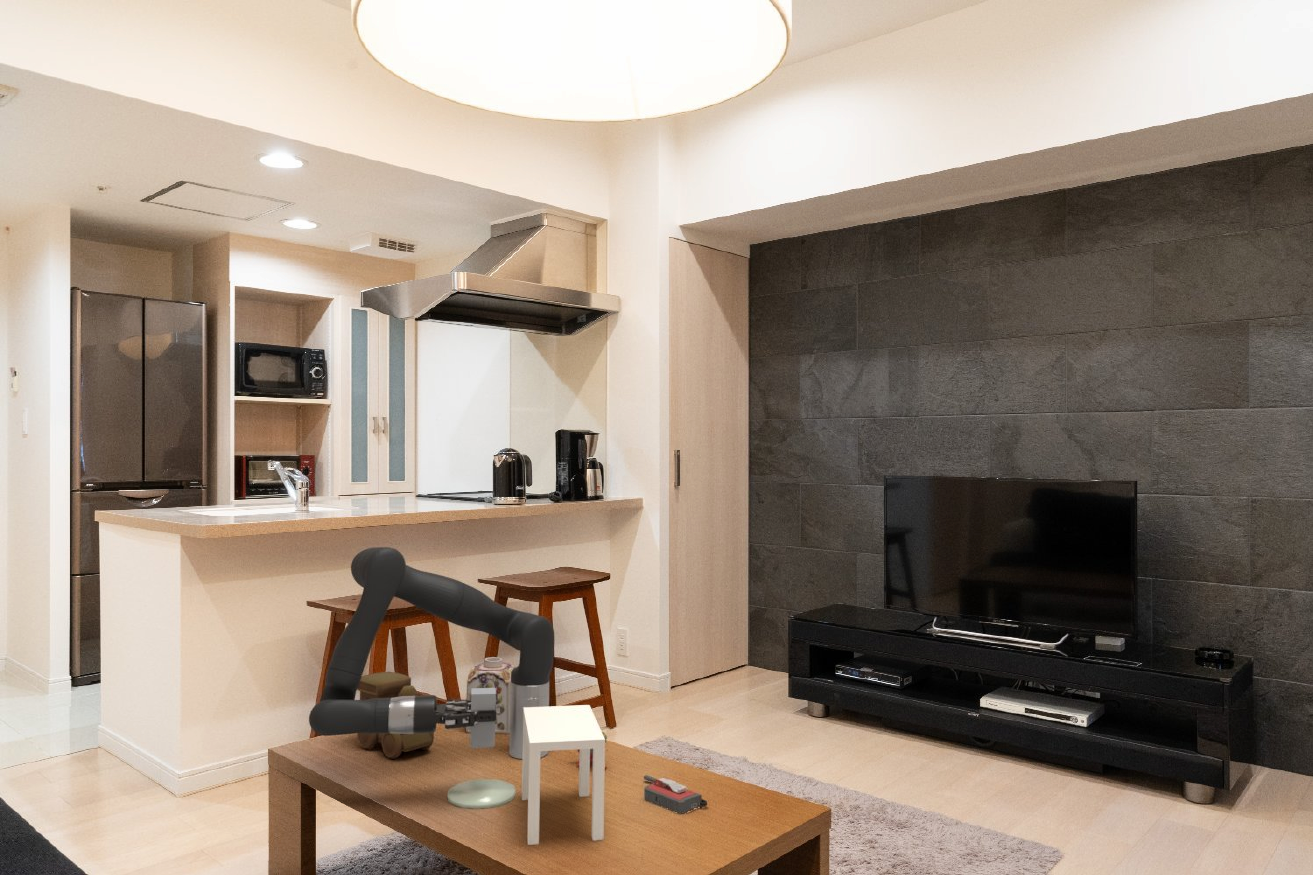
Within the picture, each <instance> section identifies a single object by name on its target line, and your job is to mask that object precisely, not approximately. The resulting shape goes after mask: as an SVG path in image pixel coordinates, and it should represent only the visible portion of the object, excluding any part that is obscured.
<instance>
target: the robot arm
mask: <svg viewBox="0 0 1313 875" xmlns="http://www.w3.org/2000/svg"><path fill="white" fill-rule="evenodd" d="M350 571H351V575H352V576H351V577H352V578H353V580H354V581H355V583H357V584H358V585H359V586H360V587H362V588H363V589H362V593H361V597H360V601H359V603H358V605H357V608H356V610H355V612H354V613H353V616H352V617H351V619H350V620H349V622H348V624H347V625H346V627H345V628H344V630H343V632H342V633H341V635H340V636H339V638H338V640H337V642H336V644H335V646H334V650H333V652H332V656H331V659H330V661H329V664H328V667H327V670H326V673H325V677H324V678H325V685H324V687H323V691H322V693H321V697H320V700H319V702H317V703H316V704H315V705H314V706H313V707H312V709H311V710H310V711H309V712H310V713H309V715H308V724H309V726H310V728H311V729H312V731H313V732H315V734H317V735H320V736H324V737H326V736H327V737H328V736H340V735H341V736H342V735H352V734H357V733H367V734H383V733H395V734H417V733H434V734H435V732H436V731H437V724H440V725H444V729H446V730H450V729H458V728H459V729H460V728H466V727H470V726H471V727H472V726H474V724H476V723H478V722H494V721H496V708H495V710H479V711H477V710H471V700H466V699H458V698H456V699H454V698H449V699H447V702H445V703H440V704H438V696H436V695H435V694H433V695H432V694H431V695H426V694H425V695H417V696H401V697H395V698H373V699H366V700H360V699H356V695H357V692H358V690H357V687H358V685H359V682H360V680H361V677H362V676H363V673H364V671H365V669H366V668H365V667H366V664H367V661H368V659H369V656H370V652H371V649H372V646H373V644H374V642H375V639H376V636H377V634H378V631H379V629H380V626H381V625H382V622H383V620H384V618H385V615H386V613H387V611H388V610H389V607H390V606H391V605H390V604H391V603H392V601H393V599H394V598H397V599H400V600H402V601H405V602H407V603H409V604H411V605H413V606H414V607H417V608H418V609H420V610H422V611H424V612H426V613H428V614H431V615H433V616H435V617H437V618H440V619H441V620H443V621H447V622H449V623H451V624H454V625H456V626H459V627H462V628H466V629H468V630H473V631H478V632H483V633H485V634H488V635H490V636H492V637H494V638H496V639H498V640H500V641H502V642H503V643H504V644H507V645H508V646H509V647H510V648H511V647H512V648H513V649H514V650H516V651H519V662H518V666H515V667H516V668H514V669H513V670H512V671H511V698H510V733H509V756H511V757H513V758H515V759H521V760H522V754H523V707H548V706H550V675H551V673H552V670H553V666H554V656H555V654H554V653H555V629H554V626H553V623H552V622H551V621H550V620H549V619H548V618H546V617H544V616H541V615H538V614H534V613H531V612H525V611H520V610H517V609H513V608H510V607H508V606H506V605H505V606H504V605H502V604H500V603H498V602H496V601H494V600H493V599H492V598H490V596H488V595H486V593H484V592H483V591H481V590H480V589H478V588H475V587H474V586H472V585H469V584H467V583H464V582H462V581H460V580H458V579H455V578H452V577H448V576H445V575H441V574H437V573H432V572H428V571H424V570H420V569H416V568H415V567H413V566H409V565H408V564H406V560H405V557H404V555H403V554H402V553H401V552H400V551H399V550H398V549H396V548H394V547H388V546H386V547H385V546H378V547H377V546H375V547H369V548H366V549H363V550H361V551H360V552H357V554H356V555H355V556H354V558H352V560H351V564H350ZM468 707H469V709H468ZM467 717H469V719H468V718H467ZM548 754H549V751H541V752H540V758H543V757H545V756H547V755H548Z"/></svg>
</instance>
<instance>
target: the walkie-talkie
mask: <svg viewBox="0 0 1313 875" xmlns="http://www.w3.org/2000/svg"><path fill="white" fill-rule="evenodd" d="M643 780H645V781H646V782H647V781H648V782H650V783H651V784H649V785H645V787H644V789H643V790H644V791H643V792H644V796H643V797H644V799H645V800H644V801H647V802H648V801H650V802H649V803H651V802H652V803H651V804H653V803H654V804H653V805H656V806H658V805H659V806H658V807H661V806H662V808H663V809H666V808H668V809H670V810H669V811H671V810H672V812H673V811H675V812H677V813H676V814H678V813H679V814H678V815H685V813H686V814H688V813H687V812H688V811H691V810H693V809H694V808H698V807H701V806H702V807H706V806H708V801H707V800H705V799H704V798H702V797H703V795H702V794H701V793H697V792H695V791H693V790H690V789H688V787H687V786H686V785H683V784H681V783H678V782H677V781H674V780H672V779H669V778H667V777H661V778H655V777H652V776H651V775H648V774H644V775H643ZM702 807H701V808H702ZM668 809H667V810H668ZM675 812H674V813H675ZM691 812H692V811H691Z"/></svg>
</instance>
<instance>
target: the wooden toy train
mask: <svg viewBox="0 0 1313 875" xmlns="http://www.w3.org/2000/svg"><path fill="white" fill-rule="evenodd" d="M357 691H359V700H366V699H373V698H395V697H401V696H419V693H418V691H417V689H416V688H415V686H414V685H412V677H410V676H408V675H406V674H402V673H399V672H396V671H395V672H394V671H381V672H376V673H369V674H365V675H362V677H361V680H360V682H359V685H358V687H357ZM356 735H357V740H358V743H359V744H360V746H361V748H363V749H365V750H371V749H372V748H374V747H375V745H376V744H377V743H381V748H382V751H383V754H384V755H385V756H386V757H388V759H393V760H395V759H397V758H399V756H400V755H401V754H402V752H403V753H407V752H410V751H414V750H417V749H421V750H425V751H426V750H428V749H430V747H432V745H433V743H434V739H435V732H434V733H417V734H395V733H383V734H367V733H356Z"/></svg>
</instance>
